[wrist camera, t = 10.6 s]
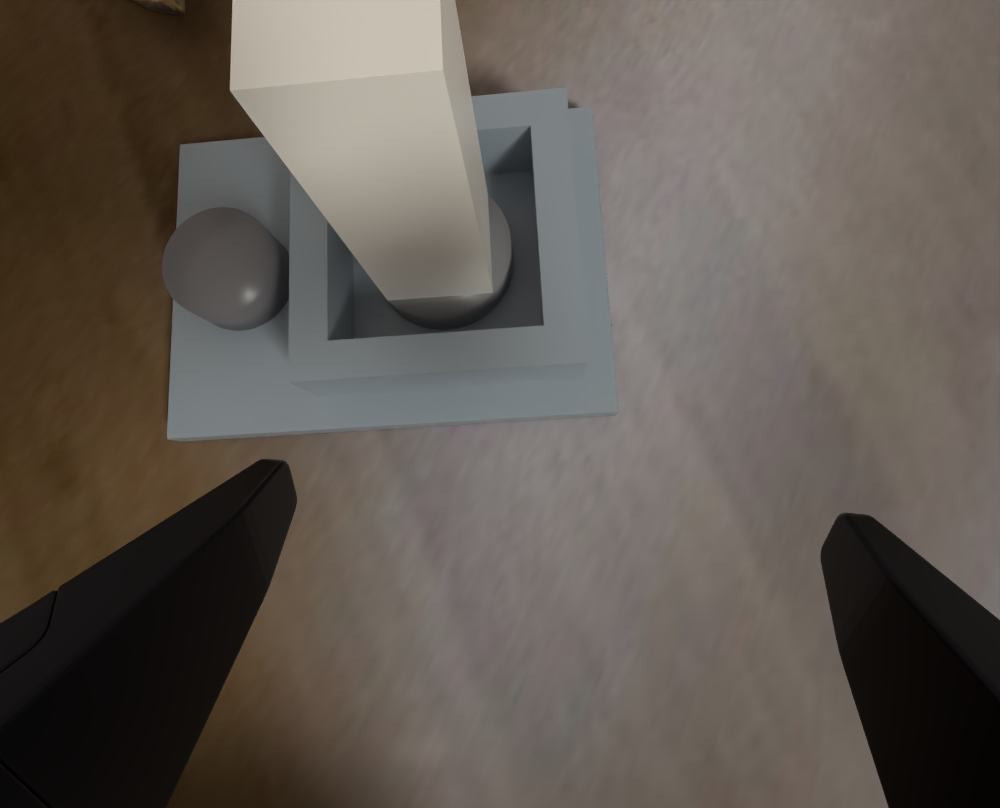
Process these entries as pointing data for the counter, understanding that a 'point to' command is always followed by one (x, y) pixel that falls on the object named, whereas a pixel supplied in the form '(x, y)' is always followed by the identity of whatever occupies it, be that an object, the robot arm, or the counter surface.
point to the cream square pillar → (381, 143)
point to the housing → (364, 310)
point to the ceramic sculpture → (164, 5)
